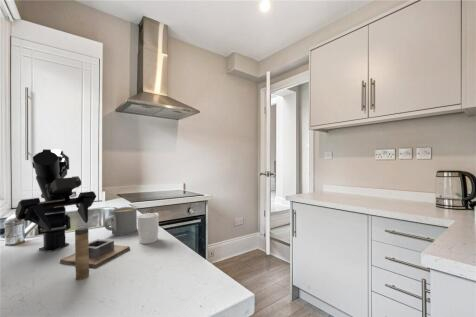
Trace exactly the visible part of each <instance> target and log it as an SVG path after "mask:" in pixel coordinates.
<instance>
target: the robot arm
mask: <svg viewBox="0 0 476 317" xmlns="http://www.w3.org/2000/svg"><path fill="white" fill-rule="evenodd" d="M31 163H32V168H33V169H34V171H35V174H36V176H35V179H36V181H37V184H38V188H39V189H40V192H41V195H40V197H41V199H44V201H41V199H40V197H32V198H25V199H24V198H23V199H21V200H19V201H18V204H17V206H16V208H15V211H14V212H15V213H14V214H15V217H16V220H19V221H21V220H23V221H24V222H28V221H29V222H32V223H33V224H35V225H37V232H38V235H42V234H43V246H42V247H39V248H38V250H39V251H45V252H46V251H47V252H54V251H56V250H59V249H61V248H64V247H65V248H66V247H67V246H69V245H70V243H68V242H66V231H69V230H70V229H71V226H72V225H71V217H70V215H69V213H67V212H66V207H69V206H74V205H75V206H76V208H77V212H78V214H79V216H80V217H81V219H82V221H83V222H84V223H85V224H87V223H88V222H89V208H90V207H92V206H93V204H94V202H95V200H96V198H97V195H96V193H95V192H94V191H92V190H89V191H82V192H79V194H78V196H77V197H72V198H71V197H70V196H72V195H73V190H74V189H76V188H77V189H78V188H79V187H81V185H82V180H81V178H80V177H79V176H78V175H77V176H71V177H66V176H67V175H68V170H70V157H69V156H68V155H67V154H65V153H64V150H63V149H49V148H48V149H47V148H45V149H42V151H40V152H38V153H36V154H35V155H34V156H33V157H32V162H31Z"/></svg>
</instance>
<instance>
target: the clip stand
mask: <svg viewBox="0 0 476 317" xmlns="http://www.w3.org/2000/svg"><path fill="white" fill-rule="evenodd" d="M129 250H131V246H130V245H121V244H115V241H114V240H109V239H100V238H99V239H95V240H93V241H89V268H94V269H96V268H98V267H100V266H102V265H104V264H105V263H107V262H109V261H112V259H114V258H116V257H119V256H120V255H122V254H124V253H125V252H128V251H129ZM59 264H65V265H66V264H67V265H73V266H76V265H75V252H74V253H72V254H70V255H67V256H64V257H63V258H60V259H59Z"/></svg>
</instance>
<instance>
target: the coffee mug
mask: <svg viewBox="0 0 476 317" xmlns="http://www.w3.org/2000/svg"><path fill="white" fill-rule="evenodd" d="M137 216H138V214H137V207H135V206H124V207H117V208H114V209H111V215H110V216H107V217H106V218H105V219H104V223H103V225H104V228H105V229H106V231H111V234H112V235H113V234H115V235H114V236H125V234H126V235H130V234H133V233H135V232H138V220H137ZM110 221H111V225H110V226H109V224H110Z"/></svg>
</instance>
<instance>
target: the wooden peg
mask: <svg viewBox="0 0 476 317" xmlns="http://www.w3.org/2000/svg"><path fill="white" fill-rule="evenodd" d="M74 241H75V242H74V245H75V247H74V248H75V249H74V251H75V252H74V253H75V265H74V266H75V280H77V281H81V280H85V279H87V278H88V277H89V276H90V267H89V243H90V241H89V228H88V227H80V228H75V230H74Z"/></svg>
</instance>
